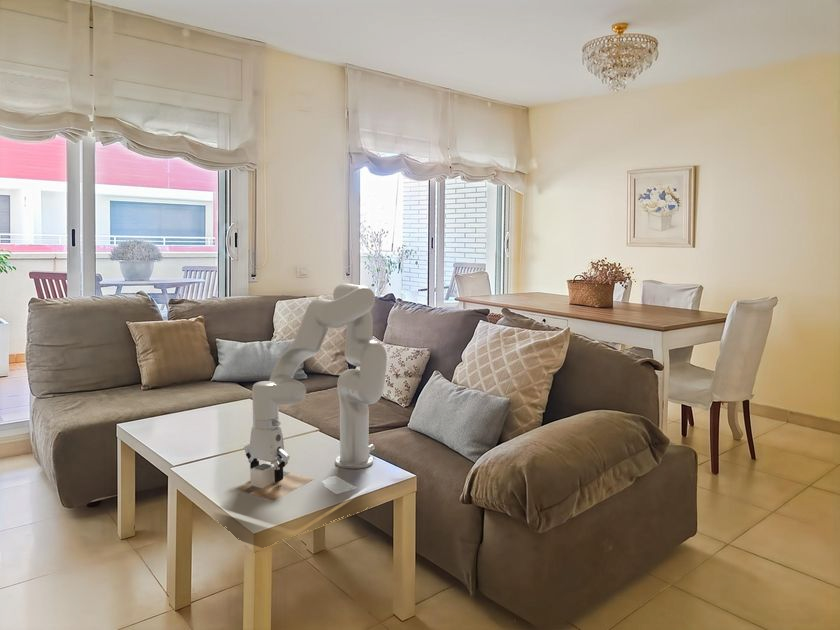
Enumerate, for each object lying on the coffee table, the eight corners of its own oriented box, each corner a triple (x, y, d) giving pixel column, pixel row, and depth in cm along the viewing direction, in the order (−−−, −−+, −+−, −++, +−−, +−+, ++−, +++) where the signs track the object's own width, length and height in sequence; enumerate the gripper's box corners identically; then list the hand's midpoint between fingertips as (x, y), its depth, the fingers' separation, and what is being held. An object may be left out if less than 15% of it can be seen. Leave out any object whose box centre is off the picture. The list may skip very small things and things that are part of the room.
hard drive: (359, 487, 183) (336, 474, 193) (335, 494, 178) (313, 481, 188) (358, 492, 184) (336, 479, 193) (335, 500, 178) (313, 486, 188)
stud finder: (271, 475, 192) (271, 458, 191) (282, 478, 190) (282, 461, 189) (250, 485, 184) (250, 468, 183) (262, 488, 182) (261, 471, 181)
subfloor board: (277, 472, 197) (277, 469, 196) (314, 482, 189) (314, 478, 189) (235, 492, 181) (235, 489, 181) (274, 503, 174) (274, 500, 174)
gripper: (296, 424, 184) (297, 479, 186) (253, 415, 192) (254, 468, 194) (279, 430, 177) (280, 487, 179) (235, 421, 185) (236, 476, 187)
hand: (266, 477), depth 187 cm, fingers open, 9 cm apart
